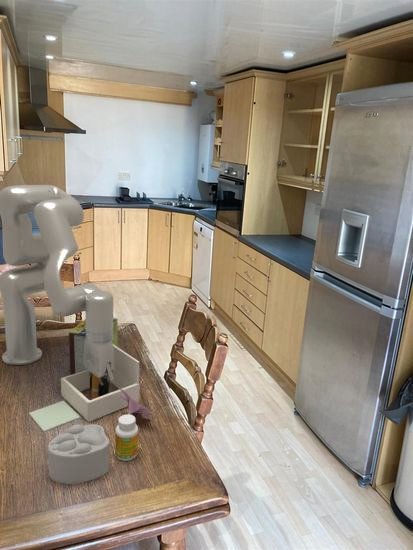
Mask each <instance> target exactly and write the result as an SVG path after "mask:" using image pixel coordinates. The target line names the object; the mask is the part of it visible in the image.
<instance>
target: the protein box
mask: <svg viewBox="0 0 413 550" xmlns="http://www.w3.org/2000/svg"><path fill="white" fill-rule="evenodd" d="M118 321H119V319H118V318H114V317H113V340H112V343H113V345H115V346H116V347H118V345H119V344H118V340H119V339H118V332H119V331H118V327H119V325H118ZM85 337H86V318H84V320H82V321H80V322H79V323H78V324H77V325H76V326H74V327H73V328H72V329H71V330H70V331H69V332H68V342H69V343H68V346H69V349H68V350H69V351H68V352H69V367H70V368H69V372H70V373H69V376H70V375H73V374H76V373H79V372H82V371H85V370H88V369H87V368H86V367H85V366H84V364H83V354H84V342H85ZM118 348H119V347H118Z"/></svg>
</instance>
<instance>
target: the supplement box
mask: <svg viewBox="0 0 413 550" xmlns="http://www.w3.org/2000/svg"><path fill="white" fill-rule="evenodd" d="M105 372H106V371H105ZM105 378H106V376H104V377H103V380H104V379H105ZM98 384H100V382H99V378H98V377H96V376H95V375H94V374H93V373H92V390H91V399H92V400H93V399H95V398H98V397H99V396H98Z"/></svg>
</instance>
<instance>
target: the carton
mask: <svg viewBox="0 0 413 550" xmlns="http://www.w3.org/2000/svg"><path fill="white" fill-rule="evenodd" d="M113 352H114V371H113V377H114V380H112V381H110V383H111V384H112V385H114V386H115V387H116V388H118V389H117V390H115V391H112V392H109V394H106V395H103V396H101V397H98V398H95V399H93V398H92V399H91V400H90V399H88V398H87V397H86V396H85V395H84V394H83V393H82V391H85V390H88V389H90V377H91V376H89V370H85V371H82V372H79V373H76V374H73V375H70V374H69V375H66V376H64V377H61V378H60V390H61V392H60V393H61V397H62V398H63V399H64V400H66V402H68V403H69V405H70V406H71V407H73V409H75V410H76V411H77V412H78V413H79V414H80V415H81V416H82V417H83V418H84V419H85V421H87V422H88V423H89V422H92V421H95V420H98V419H100V418H102V417H105V416H106V415H109V414H112V413H114V412H117V411H120V410H123V409H124V408H127V407H128V403H127V402H126V401H125V400H124V399H122V398H121V397H124V398H125V399H126V397H125V395H124V393H123V392H122V391H121V390H120V389H122V390H123V391H125V392H126V393H127V394H128V395H129V396H130V397H131V399H133V400H135V401H136V402H137V403H139V402H140V385H141V384H140V361H139V360H137V359H136V358H135V357H133V356H131V355H130V354H128V353H127V352H125V351H124V350H123V349H121V348H120V347H116V346H115V345H113ZM119 388H120V389H119ZM119 396H121V397H119ZM126 400H127V399H126ZM137 400H138V401H139V402H138V401H137Z"/></svg>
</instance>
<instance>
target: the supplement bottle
mask: <svg viewBox="0 0 413 550" xmlns="http://www.w3.org/2000/svg"><path fill="white" fill-rule="evenodd" d="M136 422H137V421H136V417H135V416H134V415H133V414H128V413H127V414H122V415H121V416H119V418H118V422H117V423H118V424H117V425H116V427H115V437H114V438H115V446H114V448H115V456H116V458H117V459H118V460H121V461H124V462H127V461H131V460H134V459H135V458H136V457H137V456H138V452H139V426H138V425H137V424H136Z"/></svg>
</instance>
